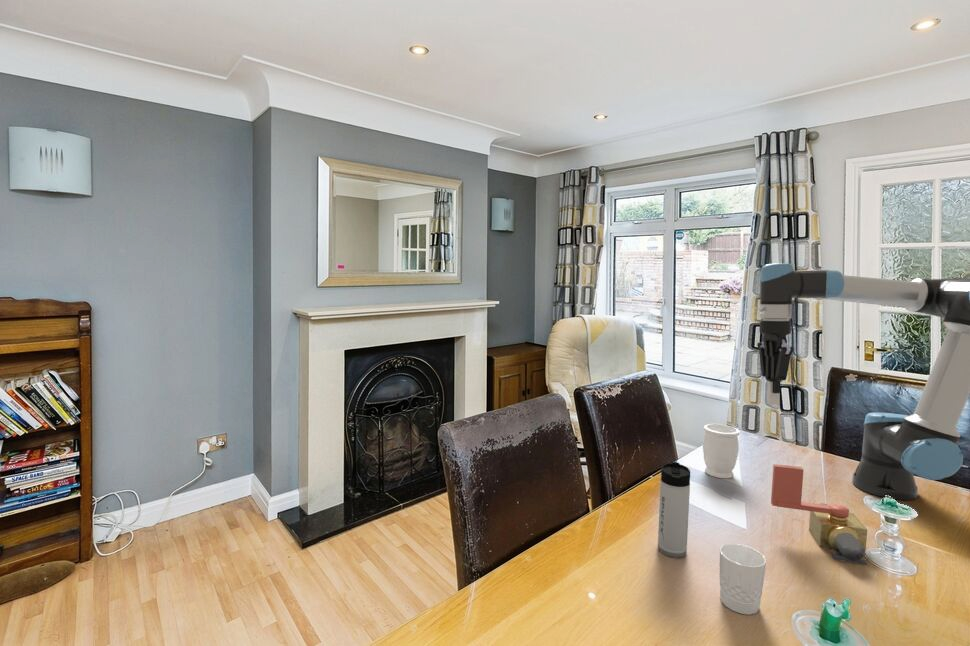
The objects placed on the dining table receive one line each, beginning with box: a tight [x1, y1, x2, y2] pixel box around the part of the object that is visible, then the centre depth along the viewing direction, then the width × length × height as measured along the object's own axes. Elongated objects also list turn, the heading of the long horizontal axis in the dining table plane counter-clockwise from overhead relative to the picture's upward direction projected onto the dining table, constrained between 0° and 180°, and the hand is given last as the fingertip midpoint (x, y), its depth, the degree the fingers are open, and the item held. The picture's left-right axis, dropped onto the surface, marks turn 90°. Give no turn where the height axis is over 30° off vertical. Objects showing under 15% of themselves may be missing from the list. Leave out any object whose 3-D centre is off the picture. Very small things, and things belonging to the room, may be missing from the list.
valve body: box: [808, 502, 868, 565], centre depth 116 cm, size 19×9×7 cm, turn 162°
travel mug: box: [657, 461, 691, 559], centre depth 112 cm, size 6×7×20 cm
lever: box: [770, 463, 850, 518], centre depth 117 cm, size 4×16×10 cm, turn 72°
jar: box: [702, 423, 740, 479], centre depth 156 cm, size 11×10×15 cm
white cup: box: [719, 543, 767, 616], centre depth 94 cm, size 8×8×10 cm
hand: (772, 403), depth 136 cm, fingers closed
